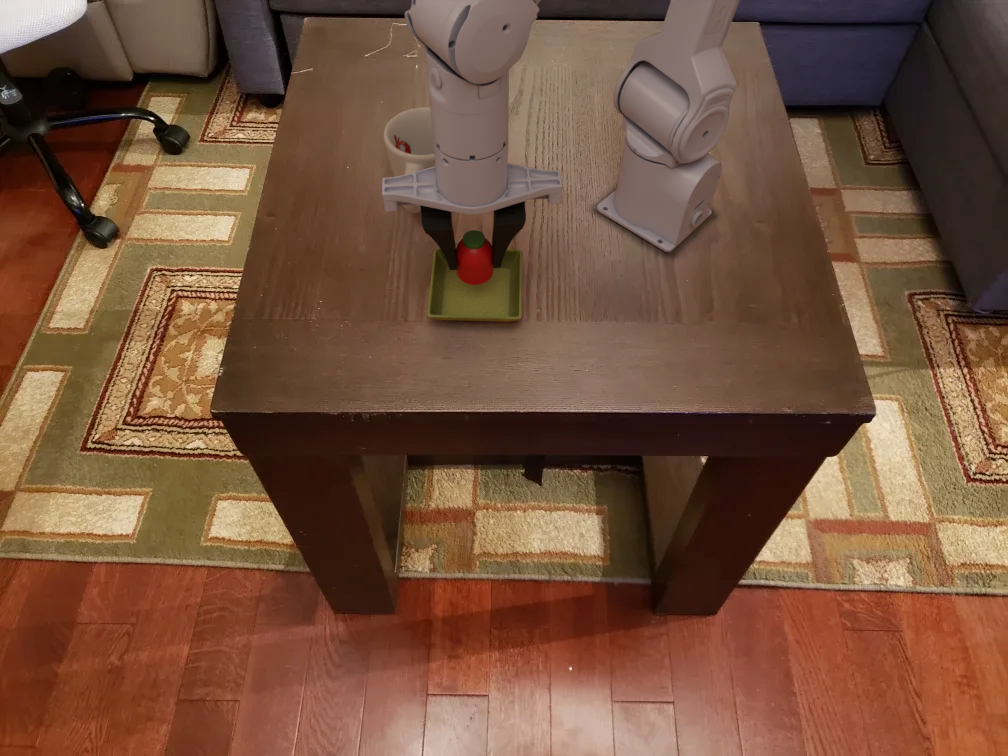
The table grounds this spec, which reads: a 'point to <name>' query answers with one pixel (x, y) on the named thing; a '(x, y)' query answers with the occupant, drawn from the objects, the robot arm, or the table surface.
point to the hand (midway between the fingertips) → (475, 260)
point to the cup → (410, 144)
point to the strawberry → (474, 258)
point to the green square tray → (476, 292)
